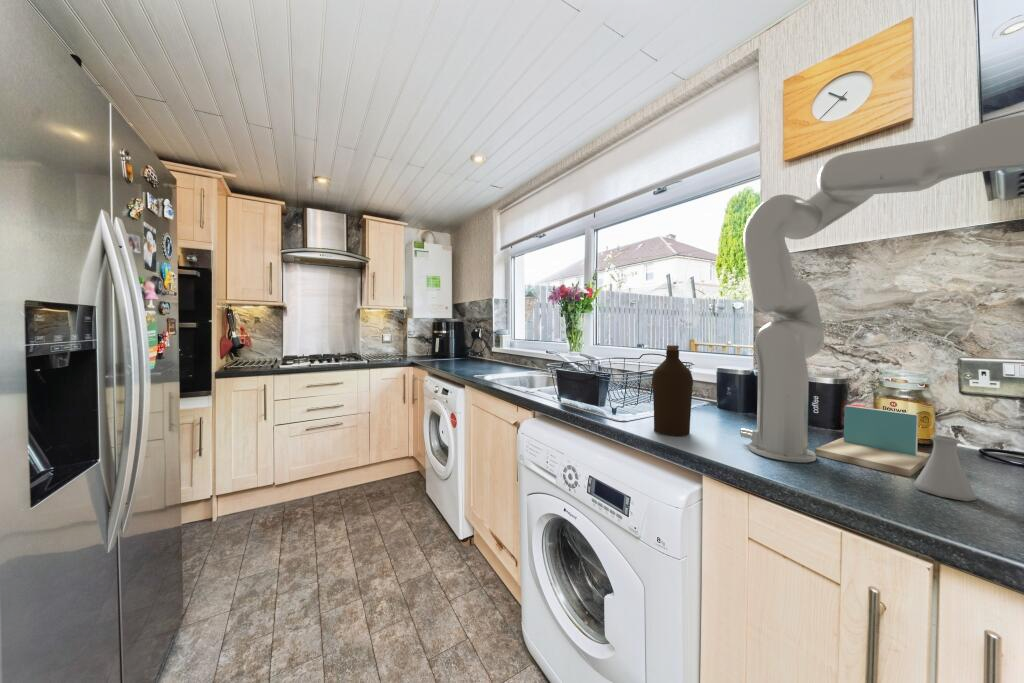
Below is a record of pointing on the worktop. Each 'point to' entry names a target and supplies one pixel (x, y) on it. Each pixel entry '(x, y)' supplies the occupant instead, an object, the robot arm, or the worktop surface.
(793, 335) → the robot arm
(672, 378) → the olive oil
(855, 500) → the worktop surface
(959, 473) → the flask
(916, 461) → the board
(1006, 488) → the worktop surface
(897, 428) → the tile
